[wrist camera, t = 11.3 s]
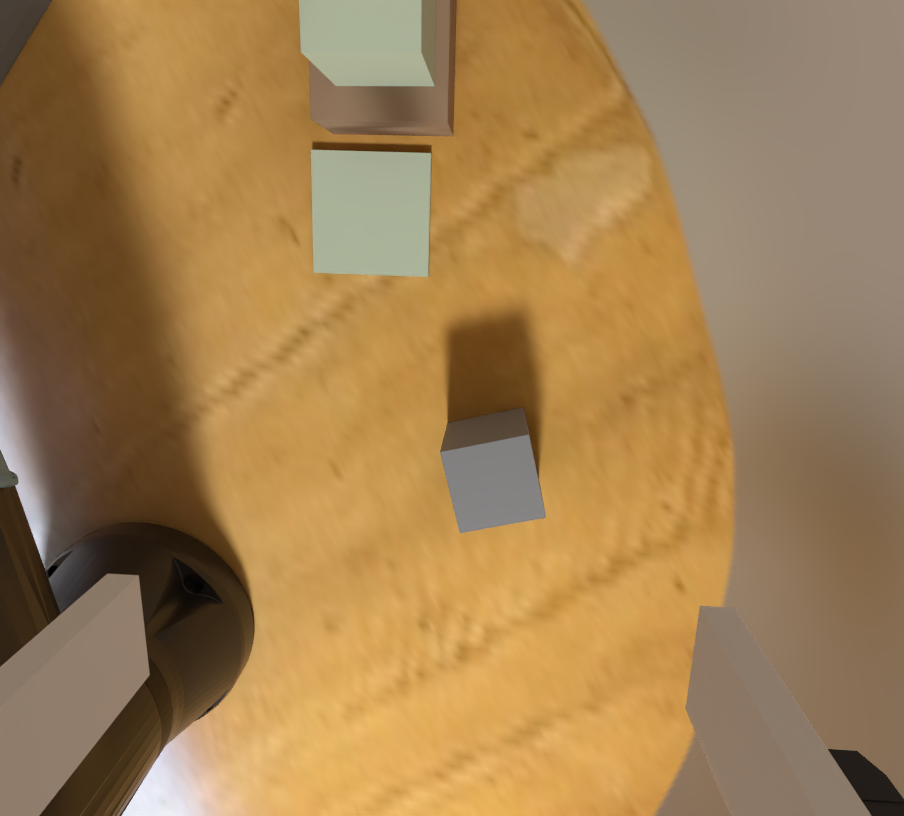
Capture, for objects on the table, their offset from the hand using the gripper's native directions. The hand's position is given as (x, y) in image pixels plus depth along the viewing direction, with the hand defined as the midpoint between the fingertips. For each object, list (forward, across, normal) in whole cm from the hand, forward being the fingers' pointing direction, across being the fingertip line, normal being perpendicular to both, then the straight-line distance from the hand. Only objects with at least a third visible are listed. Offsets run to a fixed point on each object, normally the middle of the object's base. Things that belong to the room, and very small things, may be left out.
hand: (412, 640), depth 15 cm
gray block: (+27, +2, -4) cm, 27 cm away
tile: (+27, -6, +10) cm, 29 cm away
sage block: (+22, -4, +19) cm, 29 cm away
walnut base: (+27, -4, +18) cm, 33 cm away
